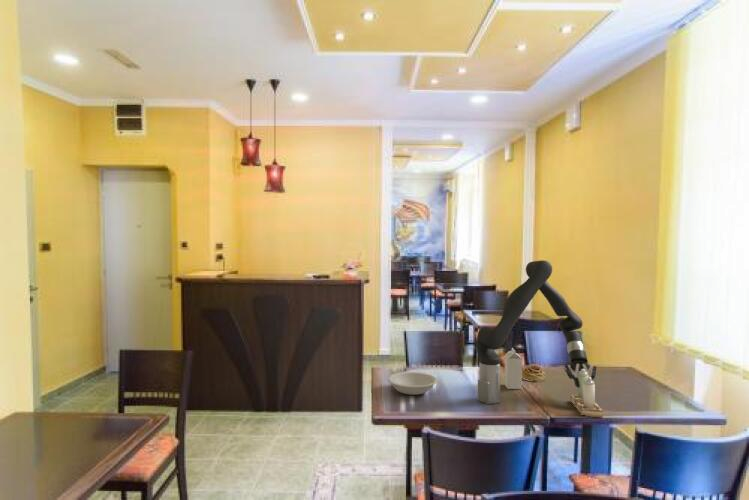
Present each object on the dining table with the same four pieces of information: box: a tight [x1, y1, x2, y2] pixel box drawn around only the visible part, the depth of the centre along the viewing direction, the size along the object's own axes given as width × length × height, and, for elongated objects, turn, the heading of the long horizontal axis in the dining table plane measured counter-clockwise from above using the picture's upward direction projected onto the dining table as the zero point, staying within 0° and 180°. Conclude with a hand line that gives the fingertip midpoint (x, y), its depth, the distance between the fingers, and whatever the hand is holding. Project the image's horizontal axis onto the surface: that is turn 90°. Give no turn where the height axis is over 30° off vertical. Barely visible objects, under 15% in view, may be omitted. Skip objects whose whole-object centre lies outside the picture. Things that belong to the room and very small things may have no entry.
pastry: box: [522, 363, 546, 382], centre depth 240 cm, size 13×15×8 cm
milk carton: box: [504, 347, 523, 390], centre depth 224 cm, size 7×7×19 cm
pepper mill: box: [576, 369, 589, 399], centre depth 199 cm, size 4×4×13 cm
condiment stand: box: [569, 394, 604, 418], centre depth 194 cm, size 18×8×3 cm, turn 171°
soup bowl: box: [387, 371, 439, 396], centre depth 215 cm, size 24×24×7 cm
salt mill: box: [583, 377, 596, 409], centre depth 190 cm, size 4×4×13 cm
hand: (584, 387), depth 197 cm, fingers closed on pepper mill, 4 cm apart
